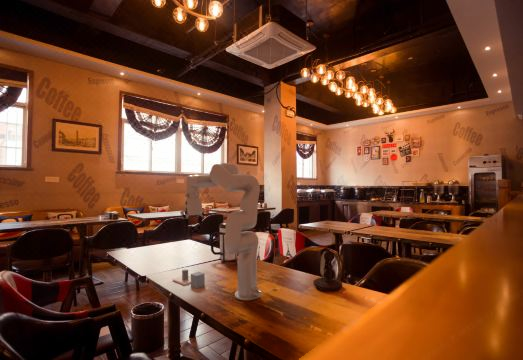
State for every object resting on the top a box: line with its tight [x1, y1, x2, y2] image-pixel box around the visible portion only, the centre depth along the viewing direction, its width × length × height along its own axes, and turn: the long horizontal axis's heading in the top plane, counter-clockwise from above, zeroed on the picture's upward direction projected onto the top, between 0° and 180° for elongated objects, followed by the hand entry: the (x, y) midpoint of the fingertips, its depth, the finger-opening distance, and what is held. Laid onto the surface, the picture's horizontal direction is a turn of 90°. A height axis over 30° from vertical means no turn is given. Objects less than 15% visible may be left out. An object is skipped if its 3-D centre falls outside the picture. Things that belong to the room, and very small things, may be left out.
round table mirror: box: [313, 247, 343, 292], centre depth 148 cm, size 15×15×20 cm
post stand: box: [172, 269, 191, 286], centre depth 161 cm, size 12×9×6 cm
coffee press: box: [210, 221, 238, 264], centre depth 202 cm, size 17×16×30 cm
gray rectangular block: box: [190, 271, 206, 289], centre depth 153 cm, size 5×5×7 cm
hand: (193, 224), depth 169 cm, fingers open, 9 cm apart
